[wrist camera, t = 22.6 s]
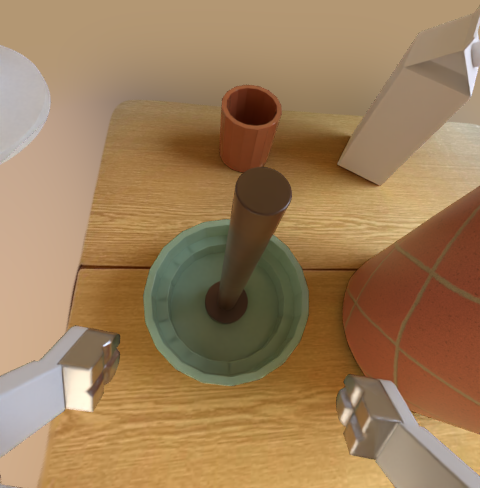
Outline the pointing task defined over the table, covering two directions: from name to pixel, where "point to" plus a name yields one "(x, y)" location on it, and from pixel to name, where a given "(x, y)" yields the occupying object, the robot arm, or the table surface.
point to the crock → (248, 126)
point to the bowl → (215, 334)
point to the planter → (424, 315)
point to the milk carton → (416, 99)
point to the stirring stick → (247, 239)
